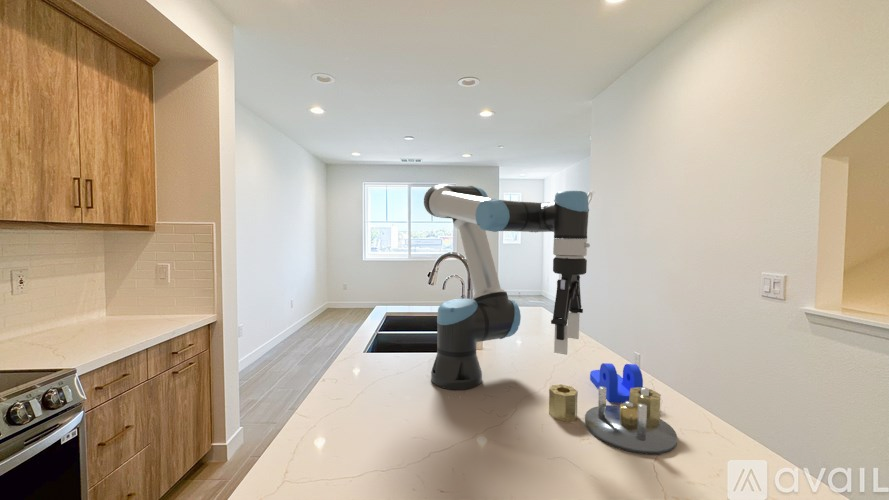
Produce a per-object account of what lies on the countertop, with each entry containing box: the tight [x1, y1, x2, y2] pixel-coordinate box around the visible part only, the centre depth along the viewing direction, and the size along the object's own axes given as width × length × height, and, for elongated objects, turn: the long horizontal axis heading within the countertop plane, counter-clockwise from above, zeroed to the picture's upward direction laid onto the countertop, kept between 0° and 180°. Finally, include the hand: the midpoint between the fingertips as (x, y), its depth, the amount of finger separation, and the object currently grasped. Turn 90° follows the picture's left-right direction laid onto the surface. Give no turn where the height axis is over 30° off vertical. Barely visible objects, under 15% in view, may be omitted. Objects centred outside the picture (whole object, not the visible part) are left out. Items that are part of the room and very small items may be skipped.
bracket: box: [589, 362, 644, 404], centre depth 101 cm, size 18×8×9 cm, turn 176°
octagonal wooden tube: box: [548, 384, 579, 422], centre depth 85 cm, size 6×6×6 cm
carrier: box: [584, 386, 678, 456], centre depth 79 cm, size 18×18×8 cm
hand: (567, 345), depth 85 cm, fingers open, 13 cm apart
